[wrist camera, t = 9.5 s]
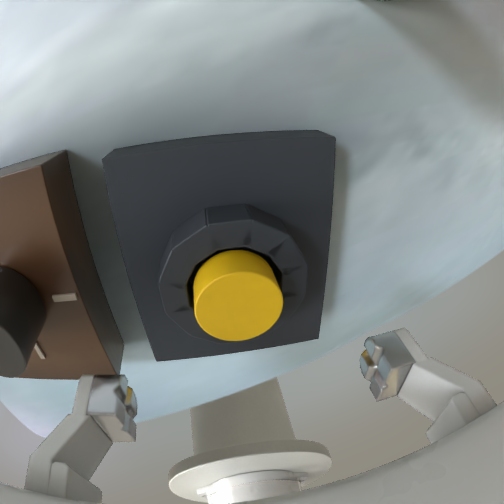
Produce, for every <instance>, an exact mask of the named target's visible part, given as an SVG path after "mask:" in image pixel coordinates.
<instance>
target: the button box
mask: <svg viewBox="0 0 504 504" xmlns="http://www.w3.org/2000/svg"><path fill="white" fill-rule="evenodd" d="M335 144H336V138H335V137H333V136H331V135H328V134H326V133H323V132H321V131H318V130H294V131H266V132H249V133H234V134H222V135H211V136H201V137H192V138H184V139H176V140H168V141H161V142H154V143H148V144H141V145H135V146H129V147H124V148H118V149H114V150H113V151H112V152H110V153H109V154H108V155H107V156H105V157H104V158H103V159H102V163H103V169H104V174H105V180H106V185H107V190H108V195H109V200H110V205H111V209H112V214H113V218H114V223H115V227H116V231H117V235H118V239H119V243H120V247H121V251H122V255H123V259H124V262H125V266H126V270H127V273H128V277H129V280H130V284H131V287H132V290H133V294H134V297H135V300H136V303H137V306H138V310H139V313H140V316H141V319H142V322H143V325H144V328H145V331H146V334H147V336H148V339H149V342H150V345H151V348H152V350H153V353H154V356H155V359H156V361H168V360H179V359H189V358H198V357H207V356H215V355H223V354H230V353H237V352H244V351H251V350H257V349H264V348H270V347H276V346H282V345H287V344H293V343H298V342H304V341H309V340H314V339H318V338H319V331H320V323H321V316H322V308H323V300H324V292H325V283H326V274H327V264H328V254H329V243H330V231H331V219H332V205H333V189H334V169H335ZM230 250H244V251H249V252H252V253H255V254H257V255H259V256H260V257H262V258H263V259H264V260H266V262H267V263H268V264H269V265H270V267H271V269H272V271H273V273H274V276H275V278H276V281H277V283H278V285H279V288H280V290H281V292H282V296H283V308H282V312H281V314H280V317H279V318H278V320H277V321H276V322H275V324H274V325H273V326H272V327H271V328H270V329H268V330H267V331H266V332H264V333H262V334H261V335H259V336H256V337H254V338H251V339H247V340H242V341H227V340H222V339H218V338H216V337H213V336H211V335H210V334H208V333H207V332H205V331H204V330H203V329H202V328H201V326H200V325H199V324H198V322H197V320H196V317H195V311H194V289H193V285H194V279H195V276H196V273H197V272H198V270H199V268H200V267H201V266H202V265H203V264H204V263H205V262H206V261H207V260H208V259H209V258H211V257H213V256H214V255H216V254H219V253H221V252H225V251H230Z"/></svg>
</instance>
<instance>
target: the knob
mask: <svg viewBox="0 0 504 504" xmlns="http://www.w3.org/2000/svg"><path fill="white" fill-rule="evenodd" d="M45 320H46V310H45V305H44V302H43V300H42V298H41V296H40V294H39V293H38V291H37V290H36V288H35V287H34V286H33V285H32V284H31V283H30V282H29V281H28V280H27V279H26V278H25V277H24V276H22V275H21V274H19V273H18V272H16V271H14V270H11V269H9V268H5V267H0V376H3V377H9V378H13V377H18V376H20V375H22V374H23V373H24V371H25V369H26V367H27V364H28V362H29V359H30V356H31V354H32V351H33V349H34V347H35V344H36V342H37V339H38V337H39V335H40V332H41V330H42V328H43V326H44V323H45Z"/></svg>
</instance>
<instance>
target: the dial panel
mask: <svg viewBox="0 0 504 504" xmlns="http://www.w3.org/2000/svg"><path fill="white" fill-rule="evenodd" d="M0 267H5V268H9V269H11V270H14V271H16V272H18V273H19V274H21V275H22V276H24V277H25V278H26V279H27V280H28V281H29V282H30V283H31V284H32V285H33V286H34V287H35V288H36V290H37V291H38V293H39V294H40V296H41V298H42V300H43V302H44V305H45V310H46V320H45V323H44V326H43V328H42V330H41V332H40V335H39V337H38V339H37V342H36V344H35V347H34V349H33V351H32V354H31V356H30V359H29V362H28V364H27V367H26V369H25V371H24V373H23V374H22V375H20V376H18V377H17V378H34V379H73V380H79V379H80V377H81V376H82V375H120V369H121V362H122V356H123V350H124V343H123V341H122V338H121V336H120V333H119V331H118V329H117V326H116V324H115V321H114V318H113V316H112V313H111V311H110V308H109V305H108V303H107V300H106V297H105V294H104V291H103V289H102V286H101V283H100V280H99V277H98V274H97V271H96V268H95V265H94V262H93V258H92V255H91V252H90V248H89V245H88V242H87V238H86V235H85V231H84V227H83V224H82V220H81V216H80V212H79V208H78V204H77V200H76V196H75V191H74V187H73V182H72V177H71V172H70V167H69V162H68V157H67V151H66V150H62V151H58V152H54V153H51V154H47V155H43V156H40V157H36V158H33V159H29V160H26V161H22V162H19V163H16V164H13V165H10V166H7V167H4V168H1V169H0Z"/></svg>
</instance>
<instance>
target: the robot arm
mask: <svg viewBox="0 0 504 504" xmlns="http://www.w3.org/2000/svg"><path fill="white" fill-rule="evenodd" d="M364 346H365V348H366V350H365V351H364V352H363V353H362V354H361V358H360V368H361V371H362V374H363V376H364V378H365V379H367V380H369V381H370V382H371V384H370V389H371V391H372V393H373V395H374V397H375V399H376V401H381V400H384V399H387V398H390V397H393V396H396V395H397V397H399V398H400V399H402V400H403V401H404V402H406V403H407V404H409V405H410V406H411V407H413V408H414V409H416V410H417V411H419V412H420V413H422V414H423V415H424V416H426V417H427V418H429V419H430V420H432V421H433V424H432V425H431V426H430V428H429V429H428V430H427V432H426V435H427V437H428V439H429V441H430V443H431V444H430V445H428V446H426V447H424V448H422V449H419V450H417V451H416V452H413V453H411V454H409V455H406V456H404V457H402V458H399V459H398V460H395V461H392V462H390V463H388V464H385V465H382V466H380V467H377V468H375V469H372V470H369V471H366V472H364V473H361V474H358V475H355V476H352V477H349V478H346V479H343V480H339V481H336V482H332V483H329V484H326V485H322V486H319V487H314V488H311V489H307V490H303V491H302V490H301V485H302V484H303V483H304V481H305V480H306V479H307V478H308V474H307V472H290V471H284V470H269V471H258V472H251V473H245V474H240V475H235V476H231V477H227V478H224V479H221V480H219V481H216V482H214V483H213V484H211V485H209V486H206V487H203V488H199V489H197V490H196V491H197V495H199V496H200V497H202V498H204V499H206V500H208V501H209V504H504V401H503V402H501V403H500V404H498V405H497V404H496V403H495V402H494V400H493V399H492V397H491V396H490V394H489V393H488V391H487V390H486V389H485V387H484V386H483V384H482V383H481V382H480V381H479V380H477V379H475V378H473V377H471V376H468V375H467V374H465V373H463V372H460V371H459V370H456V369H454V368H452V367H450V366H448V365H446V364H444V363H442V362H440V361H438V360H436V359H434V358H432V357H430V358H428V357H427V356H426V355H425V353H424V352H423V350H422V349H421V348H420V346H419V345H418V343H417V342H416V341H415V340H414V338H413V337H412V335H411V334H410V333H409V331H408V330H407V329H405V328H401V329H398V330H394V331H390V332H386V333H383V334H379V335H376V336H372V337H368V338H367V339H366V340H365V343H364ZM127 385H128V380H127V378H126V376H125V375H82V376H81V377H80V379H79V383H78V388H77V392H76V397H75V401H74V406H73V411H72V414H68V415H67V416H66V417H65V418H64V419H63V420H62V421H61V422H60V424H59V425H58V426H57V427H56V428H55V429H54V430H53V431H52V432H51V433H50V434H49V436H48V437H47V438H46V439H45V440H44V441H43V442H42V443H41V444H40V445H39V447H38V448H37V449H36V450H35V451H34V452H33V453H32V454H31V455H30V458H29V463H28V469H27V475H26V482H25V488H24V489H22V488H19V487H15V486H12V485H8V484H5V483H2V482H0V504H102V491H101V490H100V489H99V488H98V487H96V486H95V485H93V484H92V483H91V482H89V480H90V478H91V476H92V475H93V473H94V472H95V470H96V469H97V467H98V465H99V464H100V463H101V461H102V459H103V458H104V456H105V455H106V453H107V452H108V450H109V448H110V447H111V446H112V444H113V443H112V442H135V441H136V424H135V422H134V421H133V418H134V417H135V416H136V415H137V401H136V396H135V393H134V391H133V389H132V388H130V387H129V386H127Z"/></svg>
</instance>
